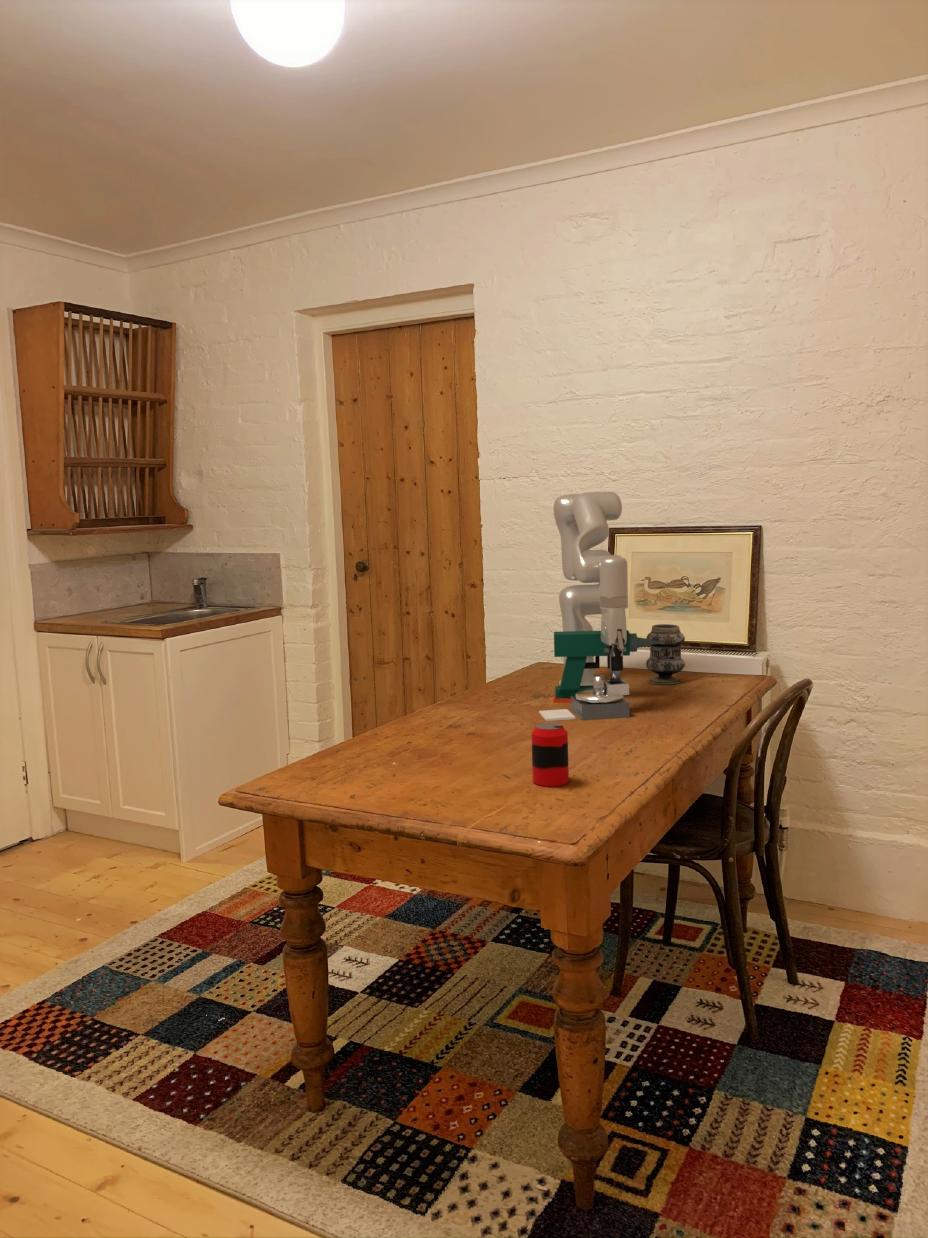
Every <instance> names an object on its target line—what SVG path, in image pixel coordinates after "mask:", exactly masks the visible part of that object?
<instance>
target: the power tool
mask: <svg viewBox="0 0 928 1238" xmlns="http://www.w3.org/2000/svg"><path fill="white" fill-rule="evenodd" d="M657 643H661V642H660V641H655V640H650V639H647V638H643V637H638V633H636V632H635V633H633V632H632V633H631V632H630V631H629V630H628V629H627V641H626V644H625V645H623V647H626V652H623V657H624V656H627V657H629V656H631V653H635V652H636V653H637V652H638V649H639V648H642V647H646V646H647V647H648V646H650V645H652V644H657ZM604 648H607V644H605V643H603V642H602V641H601V630H593V631H563V630H562V631H553V652H554V653H553V654H554V656H553V657H554V658H563V657H567V658H566V663H565V667H564V666H563V670H562V671H563V672H562V676H561V679H562V680H561V679H560V680H561V684H560V685H555V686H554V687H555V688H554V692H555V693H554V694H553V703H554V704H556V703H557V704H558V703H559V704H562V703H565V704H566V703H567V704H568V703H570V704H571V696H575V695H576V693H577V692H580V691H585V690H593V685H587V686H580V685H581V680H582V676H583V672H584V669H594V670H595V669H601V666H600V663H601V662H600V661H601V660H600V657H607V653H605V652H604ZM587 656H594V660H595V661H594V662H586V659H587Z"/></svg>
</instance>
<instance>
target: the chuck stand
mask: <svg viewBox="0 0 928 1238" xmlns="http://www.w3.org/2000/svg"><path fill="white" fill-rule="evenodd" d="M570 708H571V709H570V710H571V711H572V712H573V713H574V714H575V715H576V716H577V717H578V718H579V719H580V720H582V721H589V720H604V719H606V720H607V719H622V718H623V719H624V718H630V702H629V701H628V700H626V698H625V697H624V698H623V699H622V700H619V701H615V702H606V703H592V702H583V701H579V700H577V699H576V695H575V696H571V703H570Z"/></svg>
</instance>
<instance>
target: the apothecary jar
mask: <svg viewBox="0 0 928 1238" xmlns="http://www.w3.org/2000/svg"><path fill="white" fill-rule="evenodd" d="M685 638H686V636H685V635H684V633H682V632H681V629H680V626H679V625H677V624H667V623H666V624H665V623H664V624H662V623H659V624H653V625H651V630H650V632H649V633H648V634H647V635H646V639H650V640H655V641H660V642H661V643H657V644H652V645H649V647H650V652H649V654H650V655H649V657H648V659H647V660H646V662H645V667H646V668H647V670H649V671H650V672H651V673H655V674H657V675H658V676H655V677H653V678H651V679H649V683H651V684H654V685H662V686H664V685H666V686H669V685H678V684H681V683H682V680H681V678H678V677H676V676H673V674H678V673H679V672H681V671H683V670H684V669H685V667H686V662H685V661H684V660H683V659H682V644H683V643H684V642H685Z"/></svg>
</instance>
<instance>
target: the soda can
mask: <svg viewBox="0 0 928 1238" xmlns="http://www.w3.org/2000/svg"><path fill="white" fill-rule="evenodd" d="M568 733H569V732H568V730H566V729H565V727H564V725H563V724H561V723H556V722H555V723H554V722H545V723H539V724H537V725H535V727H534V728H533V730H532V731H531V733H530V734H531V759H532V760H531V761H532V762H531V765H532V766H531V768H532V782H533V783H534V784H535V785H537V786H540V787H547V788H553V787H554V788H555V787H561V786H565V785H566V784H567V783H568V782H569V781H570V780H569V779H570V778H569V777H570V775H569V772H570V771H569V737H568V736H569V735H568Z"/></svg>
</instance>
